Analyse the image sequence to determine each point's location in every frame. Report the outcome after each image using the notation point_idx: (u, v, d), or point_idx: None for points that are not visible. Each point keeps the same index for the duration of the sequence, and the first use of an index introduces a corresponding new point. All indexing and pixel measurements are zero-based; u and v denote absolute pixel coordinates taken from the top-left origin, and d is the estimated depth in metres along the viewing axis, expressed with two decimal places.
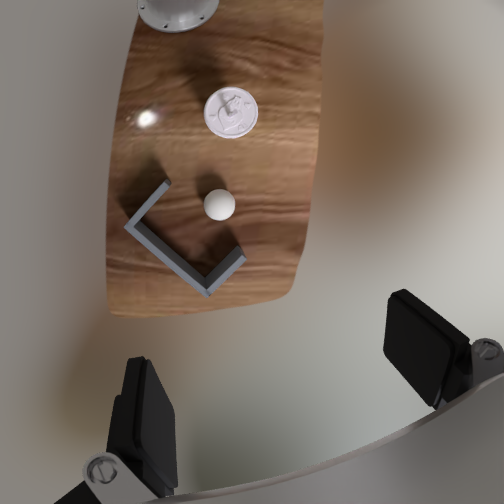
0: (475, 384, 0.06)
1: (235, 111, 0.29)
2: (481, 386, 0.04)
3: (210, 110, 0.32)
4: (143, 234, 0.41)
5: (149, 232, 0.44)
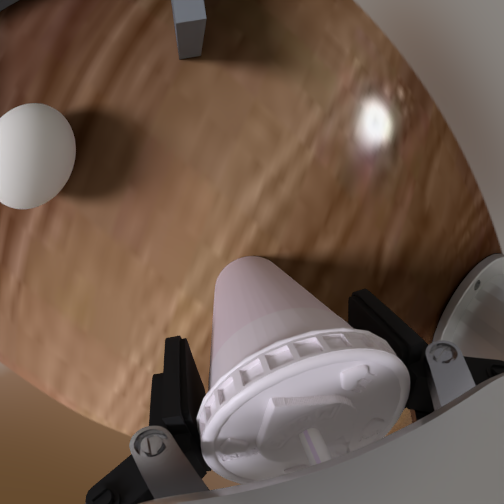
0: (439, 391, 0.06)
1: None
2: (481, 386, 0.04)
3: (377, 376, 0.07)
4: None
5: None
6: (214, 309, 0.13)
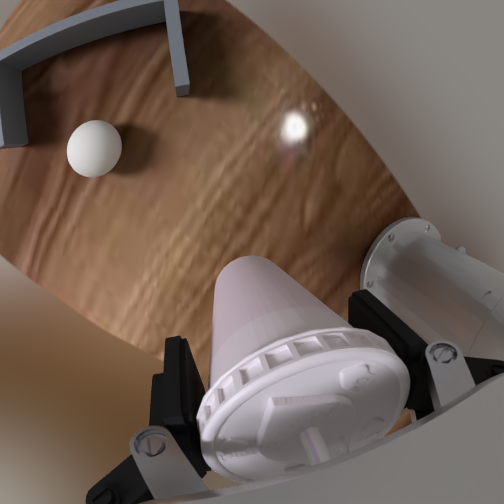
0: (438, 391, 0.06)
1: None
2: (481, 386, 0.04)
3: (377, 376, 0.07)
4: (139, 8, 0.16)
5: (134, 23, 0.18)
6: (214, 309, 0.13)
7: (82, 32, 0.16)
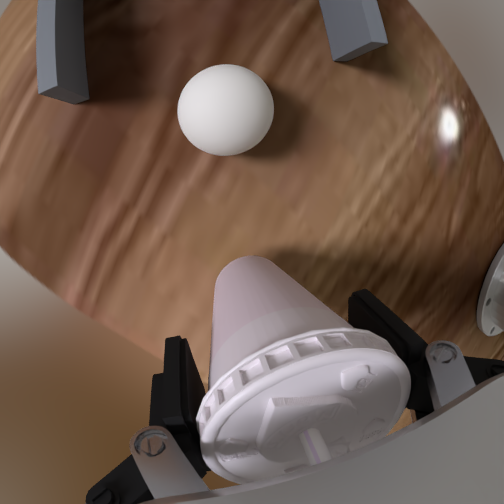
0: (438, 391, 0.06)
1: None
2: (481, 386, 0.04)
3: (378, 376, 0.07)
4: None
5: None
6: (214, 309, 0.13)
7: None
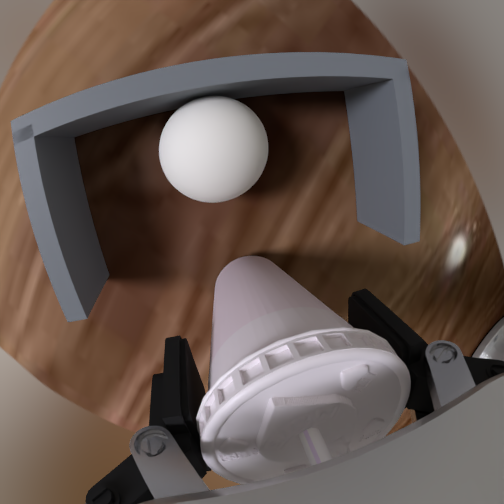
0: (438, 391, 0.06)
1: None
2: (481, 386, 0.04)
3: (377, 376, 0.07)
4: (350, 78, 0.10)
5: (308, 88, 0.13)
6: (214, 309, 0.13)
7: (224, 92, 0.11)
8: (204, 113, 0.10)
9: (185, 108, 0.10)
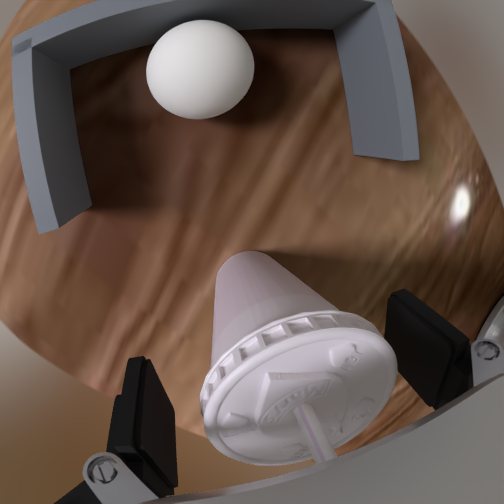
0: (475, 384, 0.06)
1: None
2: (481, 386, 0.04)
3: (365, 356, 0.08)
4: (334, 0, 0.09)
5: (296, 20, 0.12)
6: (215, 300, 0.14)
7: (213, 13, 0.10)
8: (188, 31, 0.09)
9: (172, 29, 0.09)
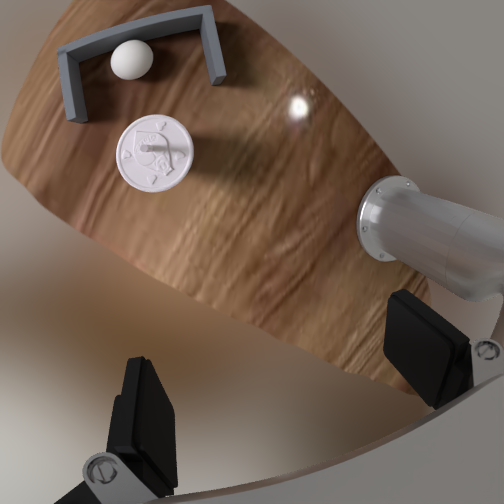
0: (475, 384, 0.06)
1: (144, 149, 0.18)
2: (481, 386, 0.04)
3: (171, 127, 0.22)
4: (184, 18, 0.23)
5: (176, 29, 0.25)
6: None
7: (137, 34, 0.24)
8: (123, 48, 0.23)
9: (118, 46, 0.23)
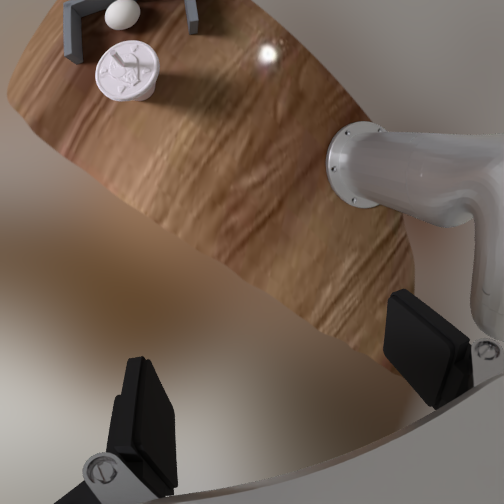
0: (475, 384, 0.06)
1: (113, 53, 0.19)
2: (481, 386, 0.04)
3: (142, 49, 0.23)
4: None
5: None
6: None
7: None
8: (114, 5, 0.24)
9: (111, 4, 0.24)
